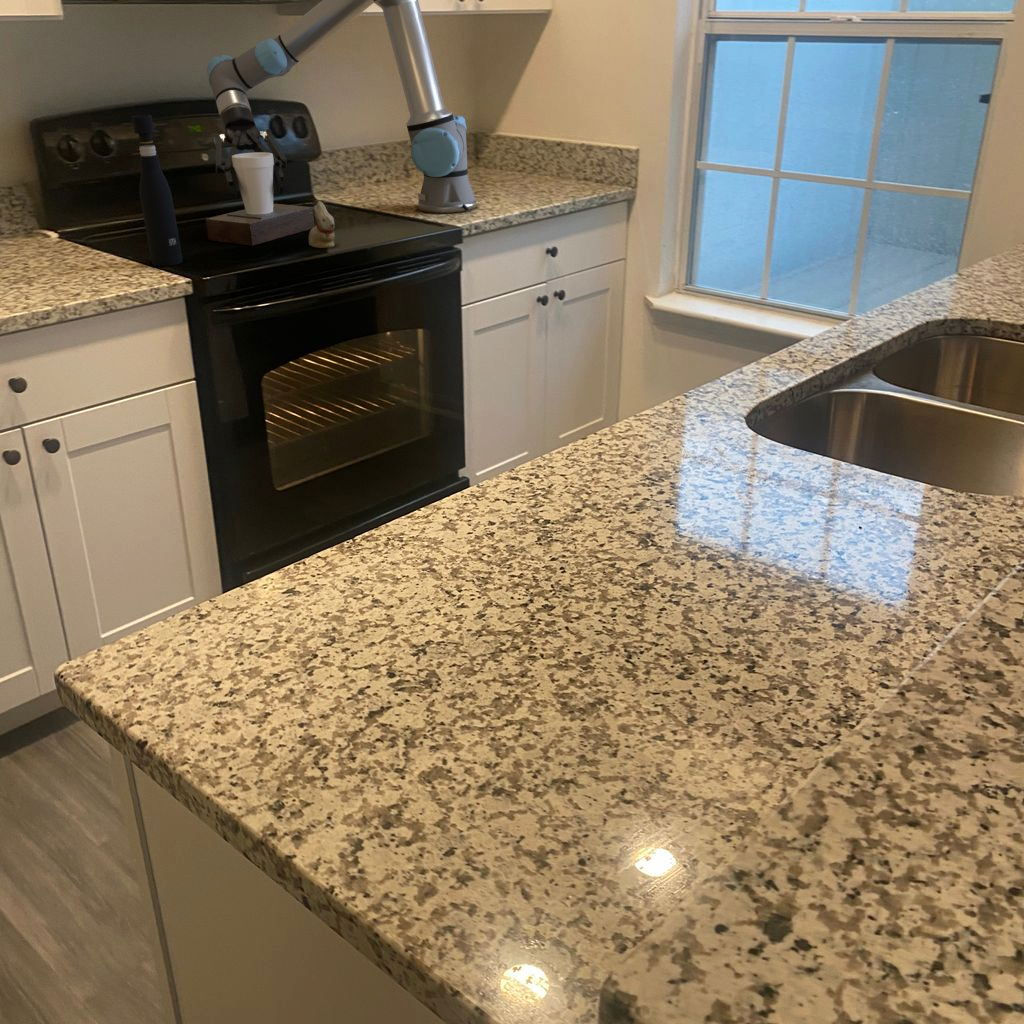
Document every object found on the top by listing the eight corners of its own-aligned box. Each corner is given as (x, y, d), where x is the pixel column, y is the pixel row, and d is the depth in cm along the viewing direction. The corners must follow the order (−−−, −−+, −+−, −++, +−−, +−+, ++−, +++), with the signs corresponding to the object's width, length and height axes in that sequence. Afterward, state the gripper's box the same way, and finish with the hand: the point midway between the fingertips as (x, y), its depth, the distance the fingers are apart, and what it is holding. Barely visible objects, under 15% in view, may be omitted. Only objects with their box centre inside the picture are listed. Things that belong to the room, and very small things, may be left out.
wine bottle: (158, 259, 226) (131, 114, 212) (186, 259, 226) (162, 113, 212) (148, 266, 220) (120, 117, 207) (177, 266, 220) (151, 117, 206)
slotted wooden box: (314, 227, 253) (312, 206, 251) (252, 245, 237) (249, 222, 234) (272, 223, 260) (269, 202, 257) (208, 240, 243) (205, 218, 241)
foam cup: (284, 208, 250) (277, 152, 244) (273, 215, 241) (265, 157, 235) (246, 208, 250) (239, 152, 245) (234, 215, 242) (225, 158, 236)
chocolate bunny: (314, 249, 231) (309, 204, 226) (307, 243, 237) (302, 198, 233) (338, 247, 232) (333, 202, 228) (330, 240, 239) (326, 196, 235)
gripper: (280, 123, 254) (304, 198, 249) (189, 129, 246) (212, 207, 240) (282, 101, 248) (307, 178, 242) (189, 107, 239) (213, 187, 234)
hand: (260, 193), depth 241 cm, fingers closed on foam cup, 9 cm apart
